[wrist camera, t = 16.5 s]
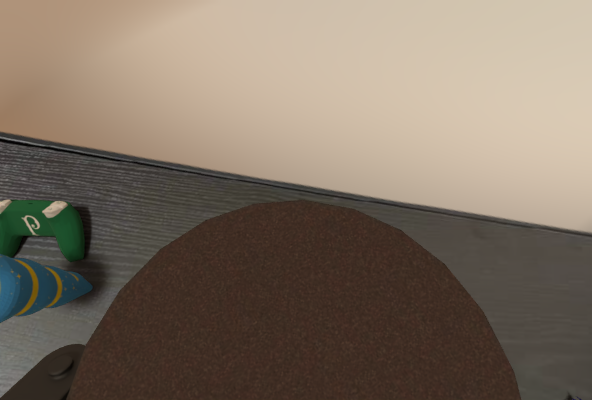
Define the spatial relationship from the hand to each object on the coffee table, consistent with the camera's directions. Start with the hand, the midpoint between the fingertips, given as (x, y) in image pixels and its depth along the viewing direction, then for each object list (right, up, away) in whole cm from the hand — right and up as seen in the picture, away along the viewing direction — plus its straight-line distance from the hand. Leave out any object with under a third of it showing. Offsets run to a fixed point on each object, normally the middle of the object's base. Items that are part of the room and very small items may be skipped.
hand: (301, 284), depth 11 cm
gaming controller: (-27, 0, +19) cm, 33 cm away
